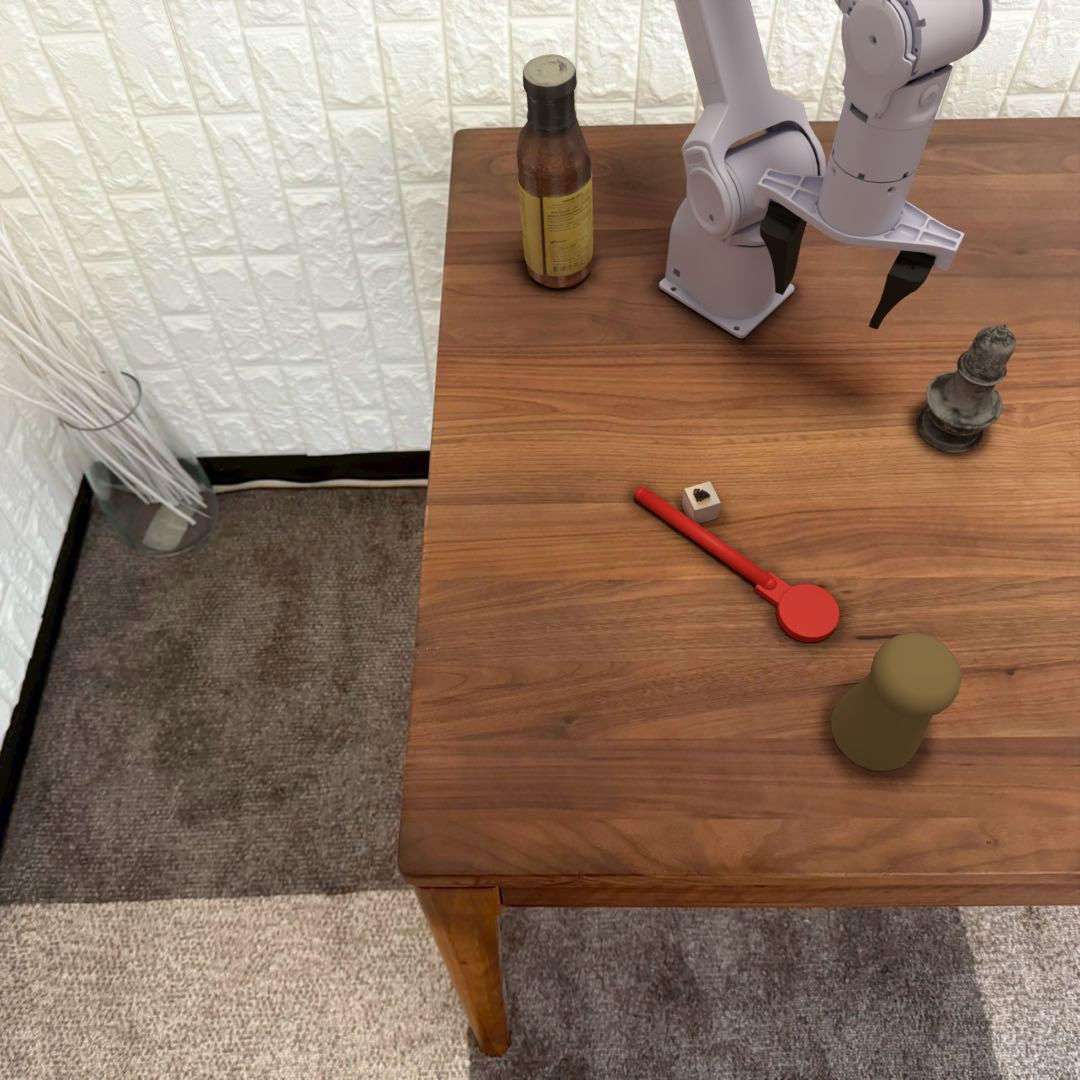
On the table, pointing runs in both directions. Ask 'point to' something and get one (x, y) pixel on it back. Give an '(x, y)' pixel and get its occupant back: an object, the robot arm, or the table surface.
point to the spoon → (760, 578)
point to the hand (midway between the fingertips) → (829, 302)
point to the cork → (896, 701)
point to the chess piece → (967, 393)
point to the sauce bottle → (554, 177)
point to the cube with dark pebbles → (701, 502)
